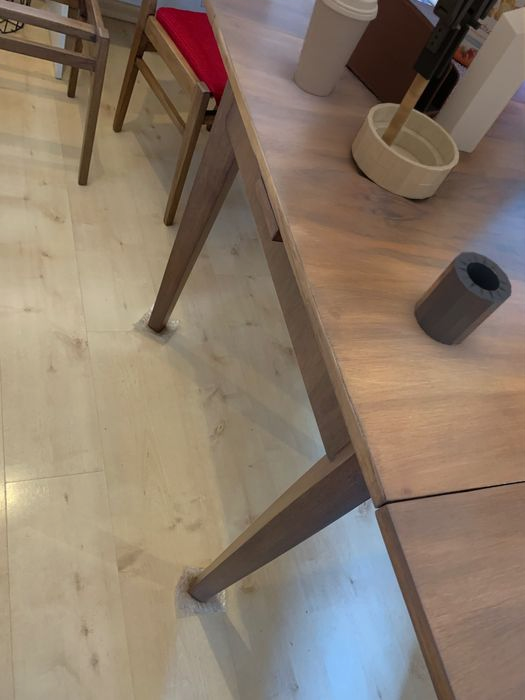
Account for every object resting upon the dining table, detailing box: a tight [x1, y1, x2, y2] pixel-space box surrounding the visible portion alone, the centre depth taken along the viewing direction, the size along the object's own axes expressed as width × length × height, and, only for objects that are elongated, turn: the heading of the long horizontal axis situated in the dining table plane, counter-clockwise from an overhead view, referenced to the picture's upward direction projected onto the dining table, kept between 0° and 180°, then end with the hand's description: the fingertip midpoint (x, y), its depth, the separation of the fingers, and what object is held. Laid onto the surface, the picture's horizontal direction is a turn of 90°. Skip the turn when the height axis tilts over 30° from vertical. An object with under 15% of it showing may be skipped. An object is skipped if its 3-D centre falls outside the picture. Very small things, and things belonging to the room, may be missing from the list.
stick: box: [381, 25, 461, 147], centre depth 75 cm, size 2×2×18 cm
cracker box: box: [452, 0, 525, 68], centre depth 107 cm, size 14×6×21 cm, turn 55°
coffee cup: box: [293, 0, 378, 97], centre depth 85 cm, size 10×10×15 cm
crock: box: [414, 251, 512, 346], centre depth 64 cm, size 7×7×9 cm
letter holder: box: [345, 0, 461, 118], centre depth 93 cm, size 10×20×14 cm, turn 35°
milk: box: [434, 7, 525, 154], centre depth 86 cm, size 6×6×22 cm
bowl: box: [351, 103, 460, 200], centre depth 81 cm, size 14×14×6 cm
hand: (426, 72), depth 73 cm, fingers closed on stick, 2 cm apart
